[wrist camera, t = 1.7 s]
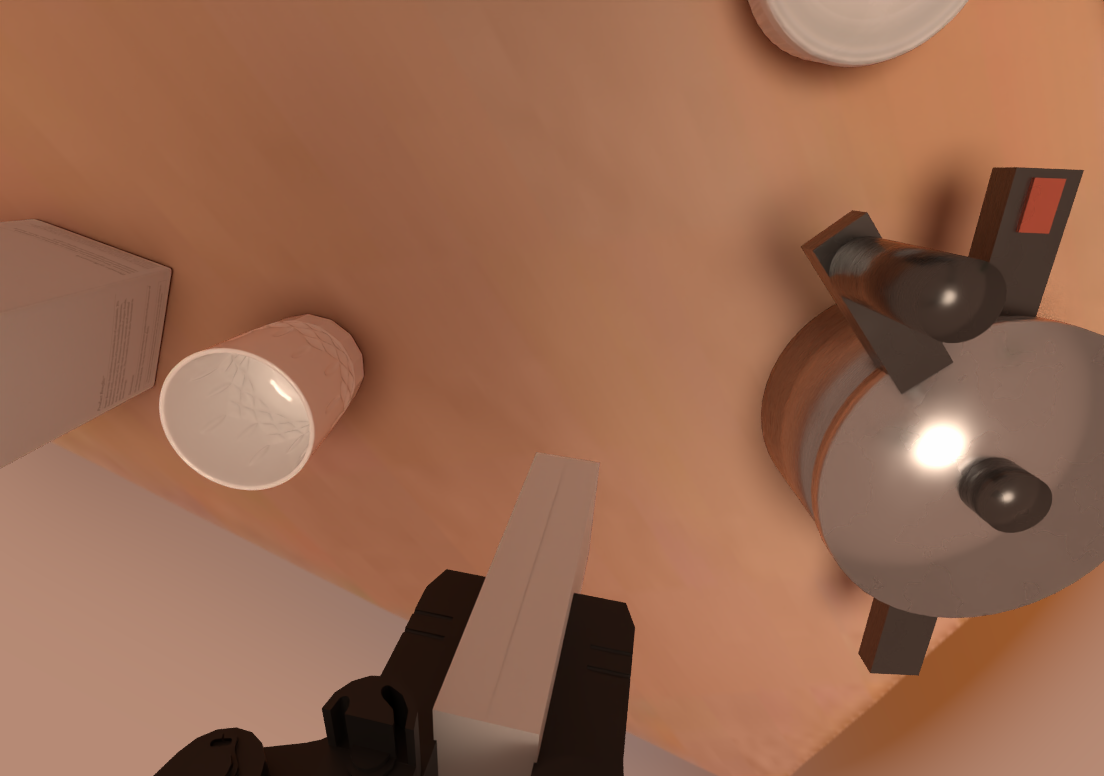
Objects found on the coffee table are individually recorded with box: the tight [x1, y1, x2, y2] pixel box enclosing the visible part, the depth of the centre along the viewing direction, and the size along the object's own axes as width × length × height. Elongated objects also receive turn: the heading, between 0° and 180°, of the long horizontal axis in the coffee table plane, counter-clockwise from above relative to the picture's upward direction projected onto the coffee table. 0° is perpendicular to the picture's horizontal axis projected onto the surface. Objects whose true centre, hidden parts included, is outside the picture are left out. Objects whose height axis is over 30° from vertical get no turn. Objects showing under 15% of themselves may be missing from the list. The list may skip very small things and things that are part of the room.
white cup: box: [159, 314, 364, 490], centre depth 35 cm, size 8×8×10 cm
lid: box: [801, 210, 1104, 618], centre depth 26 cm, size 24×17×8 cm
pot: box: [761, 167, 1084, 675], centre depth 35 cm, size 30×16×9 cm, turn 178°
